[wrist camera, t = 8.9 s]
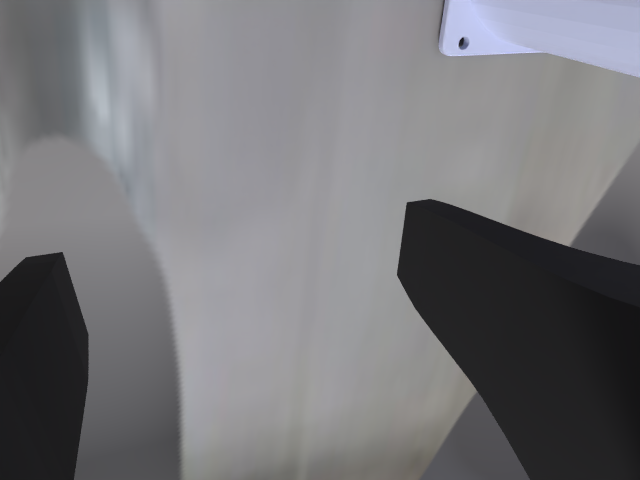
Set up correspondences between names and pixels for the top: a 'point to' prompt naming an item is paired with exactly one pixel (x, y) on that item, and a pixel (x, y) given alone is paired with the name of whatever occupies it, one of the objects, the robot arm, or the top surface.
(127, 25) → the top surface
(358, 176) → the top surface
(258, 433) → the top surface
